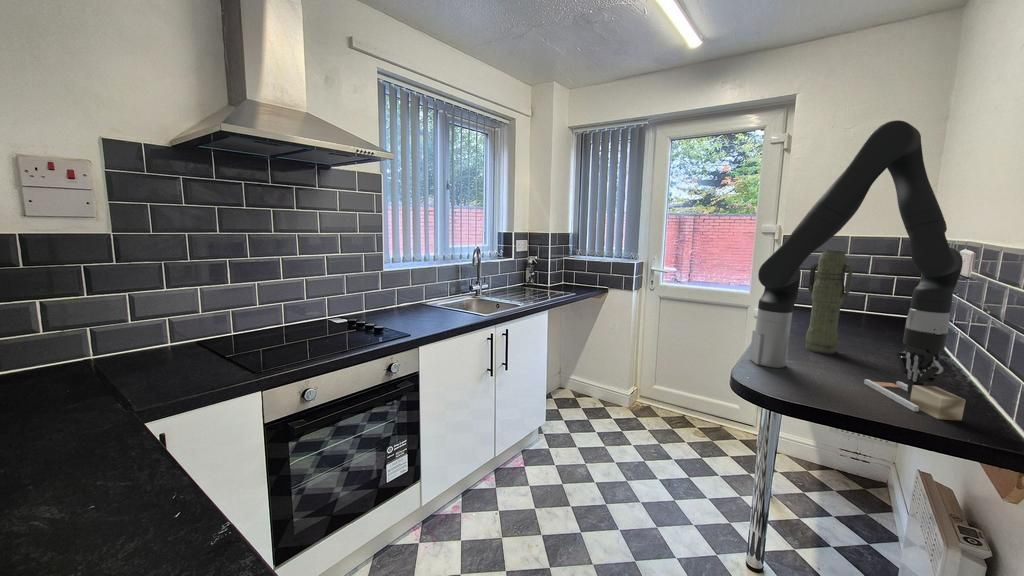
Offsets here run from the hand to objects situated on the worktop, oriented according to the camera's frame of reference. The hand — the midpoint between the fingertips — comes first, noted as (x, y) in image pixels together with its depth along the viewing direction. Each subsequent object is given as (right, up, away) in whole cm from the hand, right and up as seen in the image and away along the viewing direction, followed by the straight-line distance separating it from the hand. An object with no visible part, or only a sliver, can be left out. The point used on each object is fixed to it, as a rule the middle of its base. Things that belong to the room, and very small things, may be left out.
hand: (914, 394), depth 107 cm
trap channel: (0, -1, +2) cm, 3 cm away
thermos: (+7, +5, +43) cm, 44 cm away
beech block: (-1, -3, -6) cm, 7 cm away
